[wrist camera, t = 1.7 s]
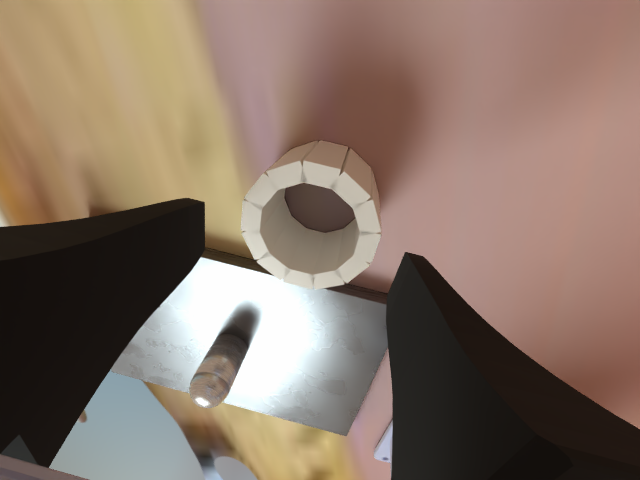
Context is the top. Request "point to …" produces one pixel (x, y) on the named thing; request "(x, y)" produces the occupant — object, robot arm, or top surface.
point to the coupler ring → (305, 244)
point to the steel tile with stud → (263, 343)
